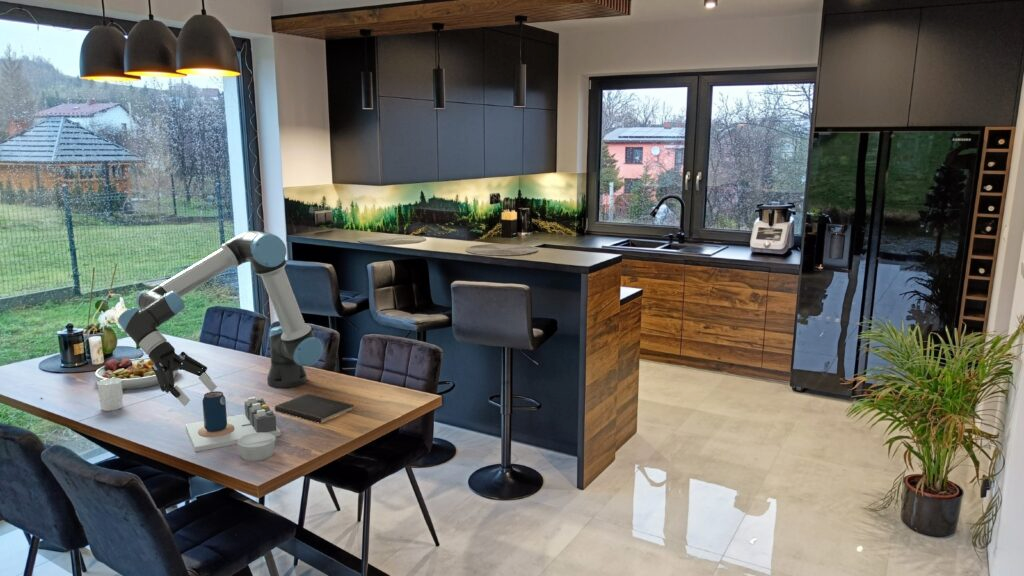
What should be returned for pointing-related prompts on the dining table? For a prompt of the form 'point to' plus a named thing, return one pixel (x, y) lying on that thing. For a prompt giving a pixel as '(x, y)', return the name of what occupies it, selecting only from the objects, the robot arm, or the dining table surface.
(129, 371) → the bowl
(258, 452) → the ramekin
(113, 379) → the white cup
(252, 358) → the dining table surface
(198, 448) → the breaker board
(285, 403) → the hardcover book
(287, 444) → the dining table surface
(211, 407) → the soda can
